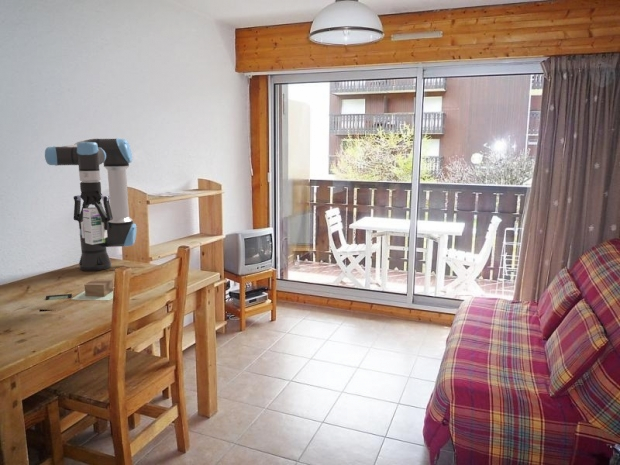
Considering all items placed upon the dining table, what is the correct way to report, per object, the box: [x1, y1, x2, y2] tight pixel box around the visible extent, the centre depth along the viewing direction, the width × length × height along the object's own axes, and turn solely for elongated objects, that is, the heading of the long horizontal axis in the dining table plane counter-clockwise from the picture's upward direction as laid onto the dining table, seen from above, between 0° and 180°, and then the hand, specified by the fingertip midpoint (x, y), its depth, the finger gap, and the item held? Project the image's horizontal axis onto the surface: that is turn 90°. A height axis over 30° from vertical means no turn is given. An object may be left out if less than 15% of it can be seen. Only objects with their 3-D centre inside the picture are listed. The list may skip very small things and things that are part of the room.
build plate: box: [71, 290, 114, 301], centre depth 200 cm, size 16×16×2 cm
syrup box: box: [83, 206, 105, 245], centre depth 194 cm, size 6×6×14 cm
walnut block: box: [84, 278, 114, 297], centre depth 199 cm, size 8×8×5 cm
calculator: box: [38, 293, 73, 312], centre depth 189 cm, size 9×12×3 cm
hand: (94, 237), depth 195 cm, fingers closed on syrup box, 8 cm apart
